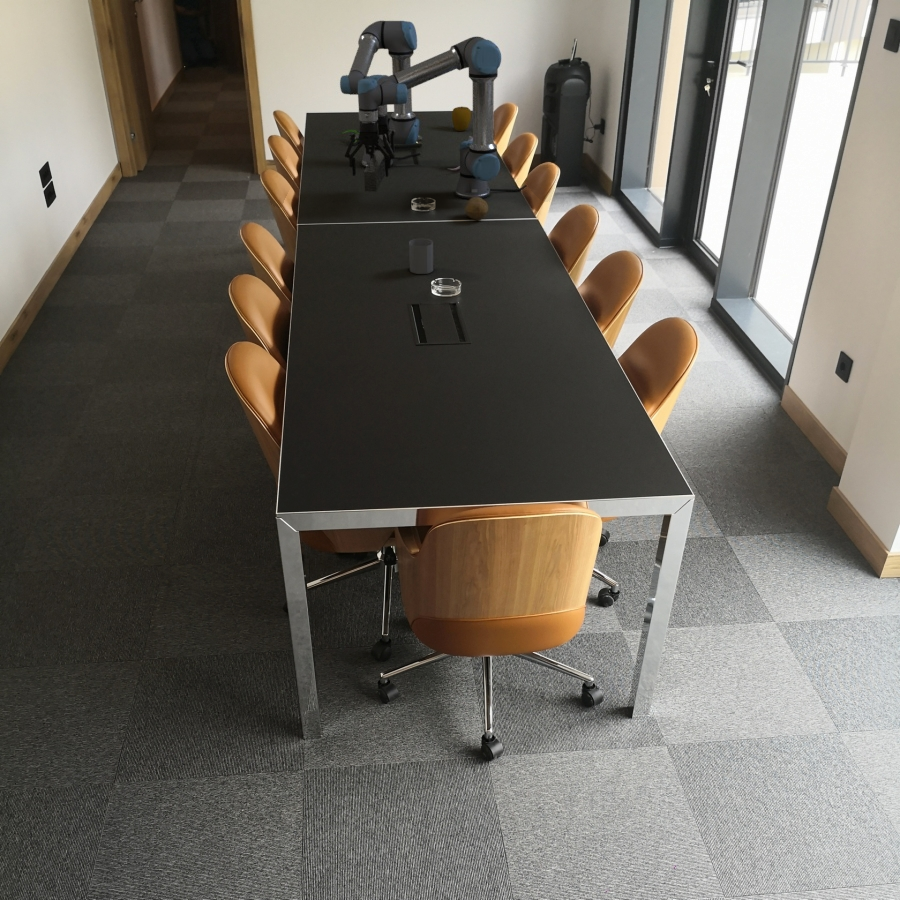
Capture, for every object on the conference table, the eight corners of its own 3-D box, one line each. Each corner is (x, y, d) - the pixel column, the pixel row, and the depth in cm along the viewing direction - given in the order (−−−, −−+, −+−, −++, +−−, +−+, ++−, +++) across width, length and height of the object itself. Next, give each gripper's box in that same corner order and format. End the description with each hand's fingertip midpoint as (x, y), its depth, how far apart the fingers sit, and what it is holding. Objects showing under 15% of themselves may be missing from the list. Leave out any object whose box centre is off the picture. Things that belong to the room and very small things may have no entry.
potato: (486, 212, 363) (486, 193, 359) (489, 223, 352) (490, 203, 347) (463, 213, 363) (463, 194, 359) (465, 223, 351) (466, 204, 347)
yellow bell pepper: (471, 132, 486) (471, 108, 479) (451, 132, 486) (451, 108, 479) (470, 128, 495) (471, 104, 488) (452, 128, 495) (452, 104, 488)
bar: (376, 169, 384) (375, 150, 380) (387, 169, 384) (387, 151, 379) (364, 191, 356) (363, 171, 352) (376, 191, 356) (375, 171, 351)
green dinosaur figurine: (396, 126, 467) (340, 124, 465) (396, 141, 460) (339, 139, 458) (396, 136, 472) (341, 134, 470) (396, 151, 465) (340, 149, 463)
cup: (409, 265, 311) (408, 238, 306) (432, 265, 312) (431, 238, 307) (410, 274, 304) (409, 246, 299) (433, 273, 305) (433, 246, 299)
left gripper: (356, 116, 365) (359, 172, 378) (398, 117, 364) (400, 173, 377) (359, 112, 372) (362, 167, 384) (400, 113, 371) (402, 168, 383)
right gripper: (335, 122, 342) (338, 176, 353) (398, 124, 340) (399, 178, 352) (339, 118, 348) (342, 172, 360) (400, 120, 347) (401, 173, 358)
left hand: (381, 170), depth 381 cm, fingers closed on bar, 5 cm apart
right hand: (370, 175), depth 356 cm, fingers open, 13 cm apart
